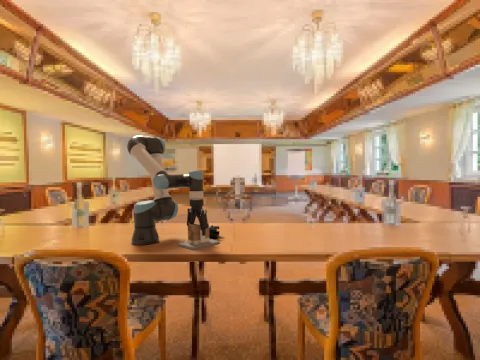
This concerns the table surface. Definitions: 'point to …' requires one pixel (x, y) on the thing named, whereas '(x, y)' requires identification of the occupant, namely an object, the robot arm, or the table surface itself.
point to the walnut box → (196, 234)
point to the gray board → (198, 246)
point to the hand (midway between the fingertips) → (197, 240)
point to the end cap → (213, 232)
